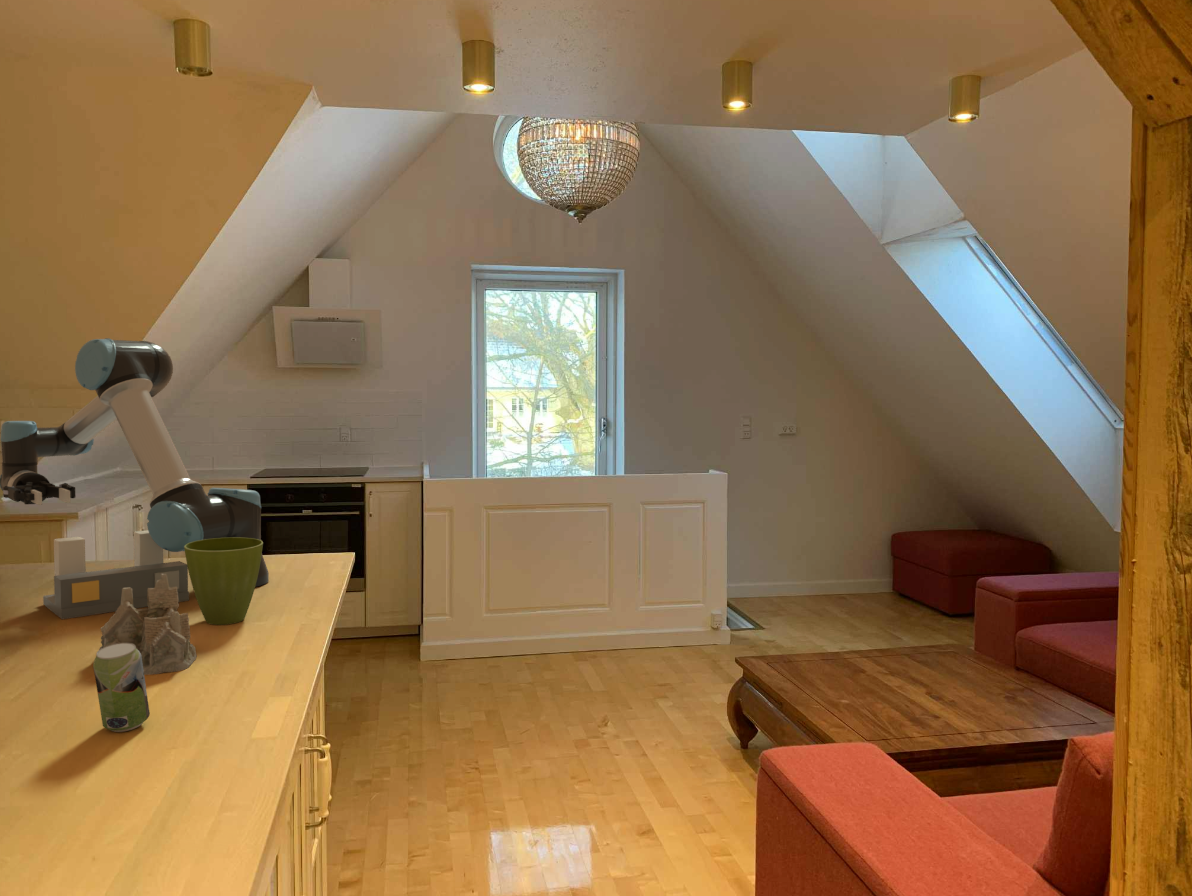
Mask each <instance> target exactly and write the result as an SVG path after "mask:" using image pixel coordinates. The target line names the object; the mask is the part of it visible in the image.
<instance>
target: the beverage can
mask: <svg viewBox="0 0 1192 896" xmlns="http://www.w3.org/2000/svg"><path fill="white" fill-rule="evenodd" d="M96 656H97V657H96ZM92 667H93V672H94V678H95V679H94V680H95V683H96V684H95V685H96V691H97V698H98V703H99V705H98V706H99V710H100V716H101V717H100V718H101V724H102V727H103V728H104V729H106V730H109V731H111V732H114V733H124V732H128V731H132V730H134V729H136V728H138V727H140V726H141V725H142V724H144V722H146V721H147V720H148V719H149V717H150V715H151V714H150V713H151V712H150V706H149V700H148V692H147V685H146V679H145V675H144V671H143V664H142V657H141V653H140V652H139V650H137V649H136V647H135V645H134V644H132V643H117V644H113V645H109V646H106V647H104V648H102V649H100V650H99V649H98V651H96V655H95V658H94V660H93V666H92Z"/></svg>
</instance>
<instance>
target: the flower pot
mask: <svg viewBox="0 0 1192 896" xmlns="http://www.w3.org/2000/svg"><path fill="white" fill-rule="evenodd" d="M263 546H264V542H263V540H262V539H261V540H259V539H254V538H241V537H228V538H213V539H204V540H198V541H194V542H190V543H188V544H186V545H185V546H184V549H185V551H184V553H185V554H184V555H185V560H186V564H187V567H188V576H189V579H190V582H191V586H192V588H193V592H194V596H195V598H196V601H197V605H198V607H199V609H200V612H201V614H202V616H203V619H204V620H205V622H206V623H207V624H209V625H217V626H223V625H224V626H225V625H232V624H237V623H240V622H242V621H244V620H245V618H246V616H247V614H248V610H249V607H250V604H251V603H252V602H251V601H252V598H253V595H254V591H255V588H256V587H255V585H256V581H257V577H258V573H259V568H260V562H261V555H263V553H262V552H263Z"/></svg>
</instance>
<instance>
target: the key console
mask: <svg viewBox="0 0 1192 896" xmlns="http://www.w3.org/2000/svg"><path fill="white" fill-rule="evenodd" d="M161 574H167V578H168V584H169V587H177V592H178V599H179V601H178V603H181V602H187V601H190V592H189V571H188V567H187V563H184V562H183V561H180V560H178V561H171V562H169V561H168V562H163V563H159V564H151V565H142V566H127V567H118V568H109V569H101V570H91V571H86V572H83V573H75V574H66V575H58V576H55V575H54V576H53V581H54V582H53V583H54V584H53V585H54V589H53V591H54V594H48V595H47V594H46V595H43V599H42V601H43V606H44V605H45V606H44V607H46V608H47V609H48V610H49V609H50V610H49V611H51V612H52V613H53V614H55V616H57V617H58V618H60V619H61V620H67V619H72V618H79V617H86V616H92V615H93V616H95V615H99V614H101V615H102V614H107V613H114V612H116V611H117V608H119V606H120V605H121V596H122V589H123V588H126V587H130V588H132V589H133V590H132V593H133V607H134V608H136V609H142V608H148V605H147V601H148V600H147V590H148V588H154V587H155V585H156V582H157V580H160V579H161Z"/></svg>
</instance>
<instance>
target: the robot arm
mask: <svg viewBox="0 0 1192 896" xmlns="http://www.w3.org/2000/svg"><path fill="white" fill-rule="evenodd" d="M74 371H75V377H76V380H77V382H78V384H79V385H80V386H81V387H83V388H84V389H86V390H89V391H95V393H96V394H97V395H96V396H95V397H93V399H91V401H89V402H88V403H87V404H86V405H84V406H83V407H82V408H80V409H79V410H78V411H76V412H75V414H73V415H72V416H71V417H70V418H69V419H67V420H66V421H65V422H63V423H62V424H61V425H60V426H57V427H56V426H55V427H54V426H53V427H52V426H51V427H38V426H37V422H35V421H34V420H7V421H4V422H3V423H2V424H1V429H0V441H1V442H0V445H1V457H2V459H1V460H2V461H1V474H0V490H2V491H3V492H2V493H3V496H2V497H3V498H4V499H10V500H11V501H14V502H17V503H19V502H21V503H24V505H37V506H41V505H43V502H44V501H45V500H46V499H53V498H57V499H58V500H59V501H61V502H64V503H65V504H66V503H67V504H69V503H70V504H71V499H75V498H76V486H72V485H70V484H69V483H67V482H64V483H59V484H58V486H57V485H56V484H54V483H50V481H49V479H48V478H47V477H46V476H45V475H43V474H40V473H38V459H39V458H44V457H45V458H46V457H47V458H48V457H62V456H63V457H64V456H78V455H84V454H87V453H89V452H90V451H91V450H92V446H94V443H95V441H94V439H95V438H96V437H98V436H99V435H100V434H101V433H102V432H103V431H106V429H107V428H108V427H110V426H111V425H112V424H114V423H115V422H116V421H117V422H118V424H119V426H120V428H121V431H122V433H123V435H124V437H125V439H126V441H127V443H128V445H129V448H130V450H131V451H132V454H133V456H134V458H135V460H136V462H137V465H138V466H139V469H140V471H141V472H142V475H143V477H144V479H145V482H146V483H147V485H148V488H149V489H150V490H149V491H150V492H151V495H152V496H151V499H150V501H149V503H148V504H149V507H150V509H149V511H148V513H147V519H146V520H147V521H148V522H147V523H146V527H147V530H148V531H149V534H150V536H151V537H152V539H153V540H154V542H155V543H156V544H157V545H158V546H160V547H161V548H163V550H165V551H168V552H171V553H179V552H185V549H184V546H185V545H186V544H188V543H190V542H194V541H198V540H204V539H213V538H228V537H241V538H254V539H259V540H261V541H262V539H261V538H262V535H261V534H262V504H261V495H260V493H259V492H258V491H256V490H252V489H245V488H244V489H242V488H241V489H240V488H227V487H211V488H209V490H208V493H206V492H205V490H204V487H203V485H202V484H201V483H200V482H198V481H195V480H192V478H191V477H190V475H189V473H188V470H187V468H186V467H185V465H184V462H183V460H182V457H181V456H180V454H179V452H178V450H177V448H176V446H175V443H174V442H173V439H172V437H171V435H170V433H169V431H168V428H167V427H166V425H165V423H164V421H163V420H164V419H162V416H161V414H160V412H159V410H158V408H157V406H156V404H155V402H154V400H153V398H154V397H155V396H156V395H158V394H159V393H161V392H162V391H163V390H164V389H165V388H166V387H167V386H168V385H169V383H170V381H171V379H172V376H173V373H174V372H173V371H174V365H173V361H172V359H171V356H170V355H169V353H168V352H167V350H165V349H164V348H163V347H161V345H159V344H157V343H155V342H151V341H147V340H146V341H145V340H123V339H122V340H121V339H111V338H109V337H108V338H95V339H90V340H88V341H87V342H85V343H84V344H83V345H82V346H81V347H80V349H79V351H78V353H77V355H76V360H75V364H74ZM269 579H270V578H269V570H268V567H267V564H266V561H265V558H264V556H263V554H262V555H261V562H260V568H259V573H258V577H257V581H256V585H255V588H256V587H260V586H263V585H266V584H267V583H269V581H270V580H269Z"/></svg>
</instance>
